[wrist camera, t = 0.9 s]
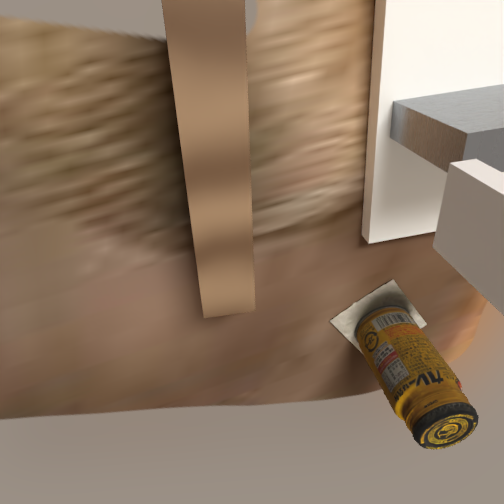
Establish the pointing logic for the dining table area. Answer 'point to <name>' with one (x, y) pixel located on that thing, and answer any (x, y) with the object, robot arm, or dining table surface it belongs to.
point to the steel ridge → (453, 126)
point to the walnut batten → (215, 145)
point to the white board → (417, 85)
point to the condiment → (408, 367)
